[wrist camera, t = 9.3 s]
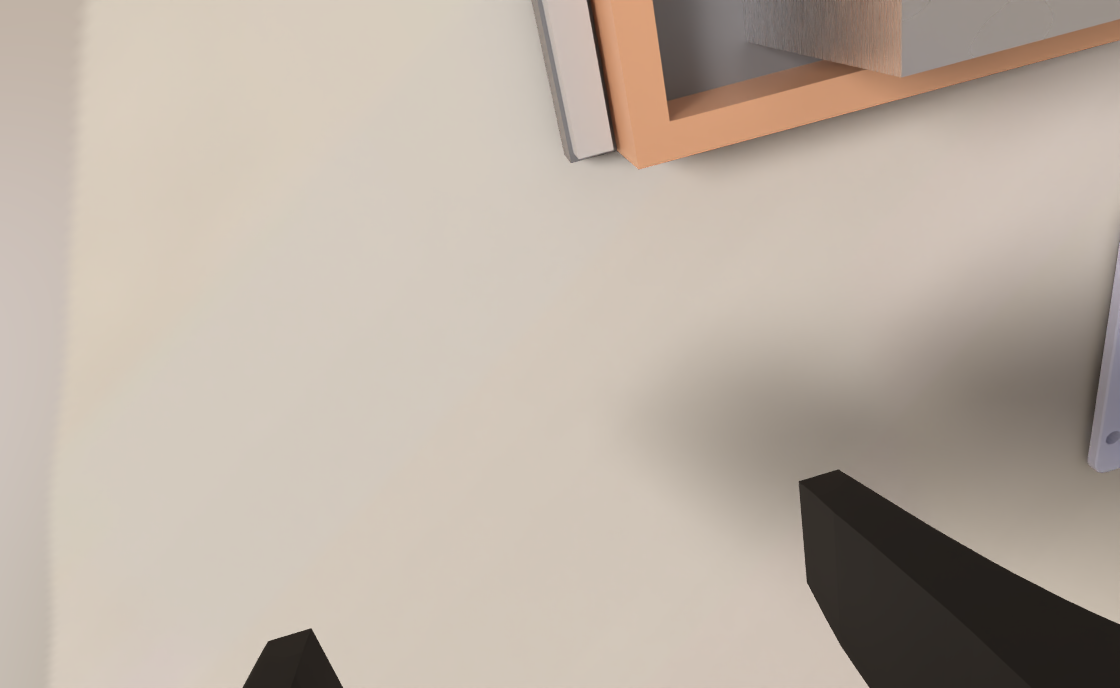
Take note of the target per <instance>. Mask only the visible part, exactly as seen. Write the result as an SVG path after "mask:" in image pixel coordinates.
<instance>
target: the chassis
mask: <svg viewBox="0 0 1120 688" xmlns="http://www.w3.org/2000/svg"><path fill="white" fill-rule="evenodd" d="M532 4H533V9H534V14H535V19H536V23H537V28H538V33H539V37H540V42H541V47H542V51H543V56H544V61H545V66H546V70H547V75H548V80H549V84H550V89H551V94H552V98H553V103H554V108H555V113H556V117H557V122H558V127H559V131H560V136H561V141H562V145H563V150H564V155H565V156H566V157H567V159H568V160H569V161H570V162H571V163H573V162H576V161H580V160H584V159H588V158H591V157H595V156H599V155H603V154H606V153H610V152H614V151H618V152H619V153H620V154H622V155H623V156H624V157H625V158H626V159H627V160H629V161H630V162H631V163H632V164H633V165H634V166H635V167H637V168H638V169H642V168H646V167H649V166H653V165H657V164H661V163H664V162H668V161H672V160H675V159H679V158H683V157H687V156H690V155H694V154H698V153H701V152H705V151H709V150H713V149H716V148H720V147H724V146H728V145H731V144H735V143H739V142H742V141H746V140H750V139H754V138H757V137H761V136H765V135H768V134H772V133H776V132H780V131H783V130H787V129H791V128H794V127H798V126H802V125H806V124H809V123H813V122H817V121H820V120H824V119H828V118H832V117H835V116H839V115H843V114H847V113H850V112H854V111H858V110H861V109H865V108H869V107H873V106H876V105H880V104H884V103H887V102H891V101H895V100H899V99H902V98H906V97H910V96H913V95H917V94H921V93H925V92H928V91H932V90H936V89H939V88H943V87H947V86H951V85H954V84H958V83H962V82H966V81H969V80H973V79H977V78H980V77H984V76H988V75H992V74H995V73H999V72H1003V71H1006V70H1010V69H1014V68H1018V67H1021V66H1025V65H1029V64H1032V63H1036V62H1040V61H1044V60H1047V59H1051V58H1055V57H1058V56H1062V55H1066V54H1070V53H1073V52H1077V51H1081V50H1085V49H1088V48H1092V47H1096V46H1099V45H1103V44H1107V43H1111V42H1114V41H1118V40H1120V19H1118V20H1114V21H1111V22H1107V23H1103V24H1099V25H1096V26H1092V27H1088V28H1084V29H1081V30H1077V31H1073V32H1069V33H1066V34H1062V35H1058V36H1055V37H1051V38H1047V39H1043V40H1040V41H1036V42H1032V43H1028V44H1025V45H1021V46H1017V47H1013V48H1010V49H1006V50H1002V51H999V52H995V53H991V54H987V55H984V56H980V57H976V58H972V59H969V60H965V61H961V62H957V63H954V64H950V65H946V66H943V67H939V68H935V69H931V70H928V71H924V72H920V73H916V74H913V75H909V76H905V77H897V76H893V75H889V74H884V73H880V72H876V71H871V70H867V69H863V68H858V67H854V66H850V65H845V64H841V63H837V62H832V61H828V60H824V59H819V58H815V57H811V56H806V55H802V54H798V53H793V52H789V51H785V50H780V49H776V48H772V47H767V46H763V45H758V44H754V43H750V42H746V39H745V28H744V17H743V6H742V0H532Z"/></svg>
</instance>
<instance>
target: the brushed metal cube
mask: <svg viewBox="0 0 1120 688" xmlns="http://www.w3.org/2000/svg"><path fill="white" fill-rule="evenodd" d="M742 6H743V17H744V28H745V39H746V42H750V43H754V44H758V45H763V46H767V47H772V48H776V49H780V50H785V51H789V52H793V53H798V54H802V55H806V56H811V57H815V58H819V59H824V60H828V61H832V62H837V63H841V64H845V65H850V66H854V67H858V68H863V69H867V70H871V71H876V72H880V73H884V74H889V75H893V76H897V77H905V76H909V75H913V74H916V73H920V72H924V71H928V70H931V69H935V68H939V67H943V66H946V65H950V64H954V63H957V62H961V61H965V60H969V59H972V58H976V57H980V56H984V55H987V54H991V53H995V52H999V51H1002V50H1006V49H1010V48H1013V47H1017V46H1021V45H1025V44H1028V43H1032V42H1036V41H1040V40H1043V39H1047V38H1051V37H1055V36H1058V35H1062V34H1066V33H1069V32H1073V31H1077V30H1081V29H1084V28H1088V27H1092V26H1096V25H1099V24H1103V23H1107V22H1111V21H1114V20H1118V19H1120V0H742Z"/></svg>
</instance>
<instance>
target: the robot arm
mask: <svg viewBox="0 0 1120 688" xmlns="http://www.w3.org/2000/svg"><path fill="white" fill-rule="evenodd" d="M1088 464H1089V466H1090V467H1092V468H1093V469H1094V470H1096V471H1097V472H1100V473H1103V472H1108V471H1112V470H1115V469H1118V468H1120V244H1119V250H1118V257H1117V264H1116V271H1115V277H1114V284H1113V291H1112V298H1111V305H1110V311H1109V318H1108V325H1107V332H1106V338H1105V345H1104V352H1103V359H1102V365H1101V372H1100V379H1099V386H1098V393H1097V399H1096V406H1095V413H1094V420H1093V426H1092V433H1091V440H1090V447H1089V453H1088ZM799 490H800V503H801V515H802V527H803V540H804V552H805V565H806V577H807V583H808V585H809V587H810V589H811V591H812V593H813V595H814V597H815V599H816V600H817V602H818V604H819V606H820V608H821V610H822V612H823V614H824V616H825V618H826V620H827V621H828V623H829V625H830V627H831V629H832V630H833V632H834V634H835V636H836V638H837V640H838V641H839V643H840V645H841V647H842V648H843V650H844V651H845V653H846V654H847V655H848V657H849V658H850V660H851V661H852V663H853V664H854V666H855V667H856V669H857V670H858V672H859V673H860V675H861V676H862V677H863V679H864V680H865V682H866V683H867V685H868V686H869V688H1120V624H1117V623H1115V622H1113V621H1111V620H1108V619H1106V618H1104V617H1102V616H1099V615H1097V614H1095V613H1093V612H1091V611H1088V610H1086V609H1084V608H1082V607H1080V606H1078V605H1076V604H1074V603H1071V602H1069V601H1067V600H1065V599H1063V598H1061V597H1059V596H1057V595H1055V594H1053V593H1051V592H1049V591H1047V590H1045V589H1044V588H1042V587H1040V586H1038V585H1036V584H1034V583H1032V582H1030V581H1028V580H1026V579H1024V578H1022V577H1020V576H1018V575H1016V574H1014V573H1012V572H1011V571H1009V570H1007V569H1005V568H1003V567H1001V566H999V565H998V564H996V563H994V562H992V561H990V560H989V559H987V558H985V557H983V556H982V555H980V554H978V553H976V552H975V551H973V550H971V549H969V548H967V547H966V546H964V545H962V544H960V543H959V542H957V541H955V540H953V539H952V538H950V537H948V536H946V535H945V534H943V533H941V532H940V531H938V530H936V529H935V528H933V527H931V526H930V525H928V524H926V523H925V522H923V521H921V520H920V519H918V518H916V517H915V516H913V515H911V514H910V513H908V512H907V511H905V510H903V509H902V508H900V507H898V506H897V505H895V504H893V503H892V502H890V501H889V500H887V499H885V498H884V497H882V496H881V495H879V494H877V493H876V492H874V491H873V490H871V489H869V488H868V487H866V486H864V485H863V484H861V483H860V482H858V481H856V480H855V479H853V478H851V477H850V476H848V475H846V474H845V473H843V472H841V471H840V470H835V471H832V472H829V473H825V474H822V475H819V476H815V477H812V478H809V479H805V480H802V481H799ZM243 688H343V687H342V685H341V683H340V681H339V679H338V677H337V675H336V674H335V672H334V670H333V668H332V666H331V664H330V662H329V661H328V659H327V657H326V655H325V653H324V651H323V649H322V647H321V646H320V644H319V642H318V640H317V638H316V636H315V634H314V632H313V631H312V629H307V630H304V631H301V632H297V633H294V634H291V635H287V636H284V637H281V638H278V639H274V640H271V641H268V643H267V644H266V646H265V648H264V649H263V651H262V653H261V655H260V657H259V658H258V660H257V662H256V664H255V666H254V667H253V669H252V671H251V673H250V675H249V677H248V679H247V680H246V682H245V684H244V686H243Z"/></svg>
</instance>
